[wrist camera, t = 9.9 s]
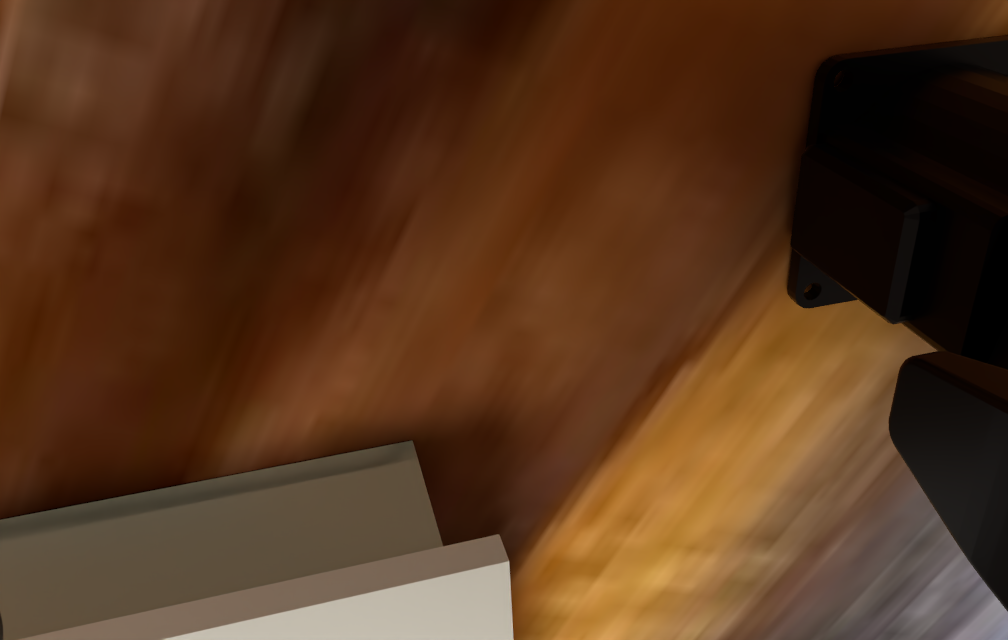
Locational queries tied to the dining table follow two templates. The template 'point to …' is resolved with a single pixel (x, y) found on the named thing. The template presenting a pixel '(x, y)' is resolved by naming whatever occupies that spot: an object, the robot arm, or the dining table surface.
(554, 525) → the dining table surface
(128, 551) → the pale green open box
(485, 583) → the lid
